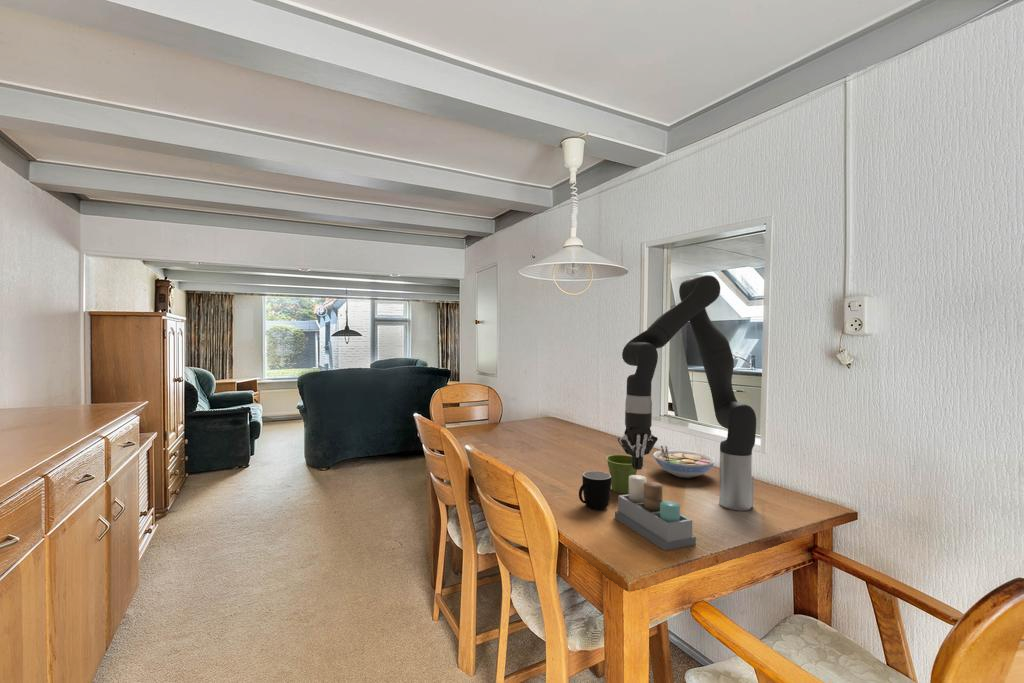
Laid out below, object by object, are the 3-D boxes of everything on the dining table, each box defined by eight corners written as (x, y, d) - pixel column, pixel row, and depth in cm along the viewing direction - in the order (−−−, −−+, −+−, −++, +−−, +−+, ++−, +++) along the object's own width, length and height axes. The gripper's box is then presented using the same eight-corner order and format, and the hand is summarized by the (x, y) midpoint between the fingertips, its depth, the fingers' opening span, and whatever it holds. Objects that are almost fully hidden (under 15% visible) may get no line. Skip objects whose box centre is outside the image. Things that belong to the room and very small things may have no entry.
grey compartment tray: (642, 513, 138) (642, 492, 138) (695, 544, 118) (696, 519, 118) (614, 517, 135) (615, 496, 134) (664, 550, 114) (664, 525, 114)
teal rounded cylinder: (670, 523, 123) (671, 499, 123) (684, 531, 118) (684, 506, 118) (655, 526, 121) (656, 502, 121) (668, 534, 116) (668, 508, 116)
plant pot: (603, 494, 154) (603, 461, 154) (607, 483, 166) (607, 453, 165) (639, 498, 151) (639, 465, 150) (641, 487, 162) (641, 456, 162)
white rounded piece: (639, 495, 136) (639, 474, 136) (649, 501, 131) (650, 479, 131) (625, 497, 134) (625, 475, 134) (635, 503, 129) (635, 481, 129)
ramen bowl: (720, 488, 161) (720, 466, 161) (653, 482, 168) (653, 460, 168) (710, 469, 185) (710, 449, 185) (652, 464, 192) (652, 445, 192)
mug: (596, 499, 149) (596, 469, 149) (616, 508, 142) (617, 476, 142) (569, 507, 142) (569, 475, 142) (589, 516, 135) (590, 483, 135)
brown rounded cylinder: (654, 503, 129) (654, 481, 129) (666, 510, 125) (666, 486, 125) (639, 506, 127) (640, 483, 127) (651, 512, 123) (651, 488, 123)
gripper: (648, 407, 138) (647, 463, 138) (612, 409, 133) (610, 467, 134) (665, 411, 131) (664, 470, 131) (627, 413, 126) (625, 475, 127)
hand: (637, 469), depth 133 cm, fingers closed
